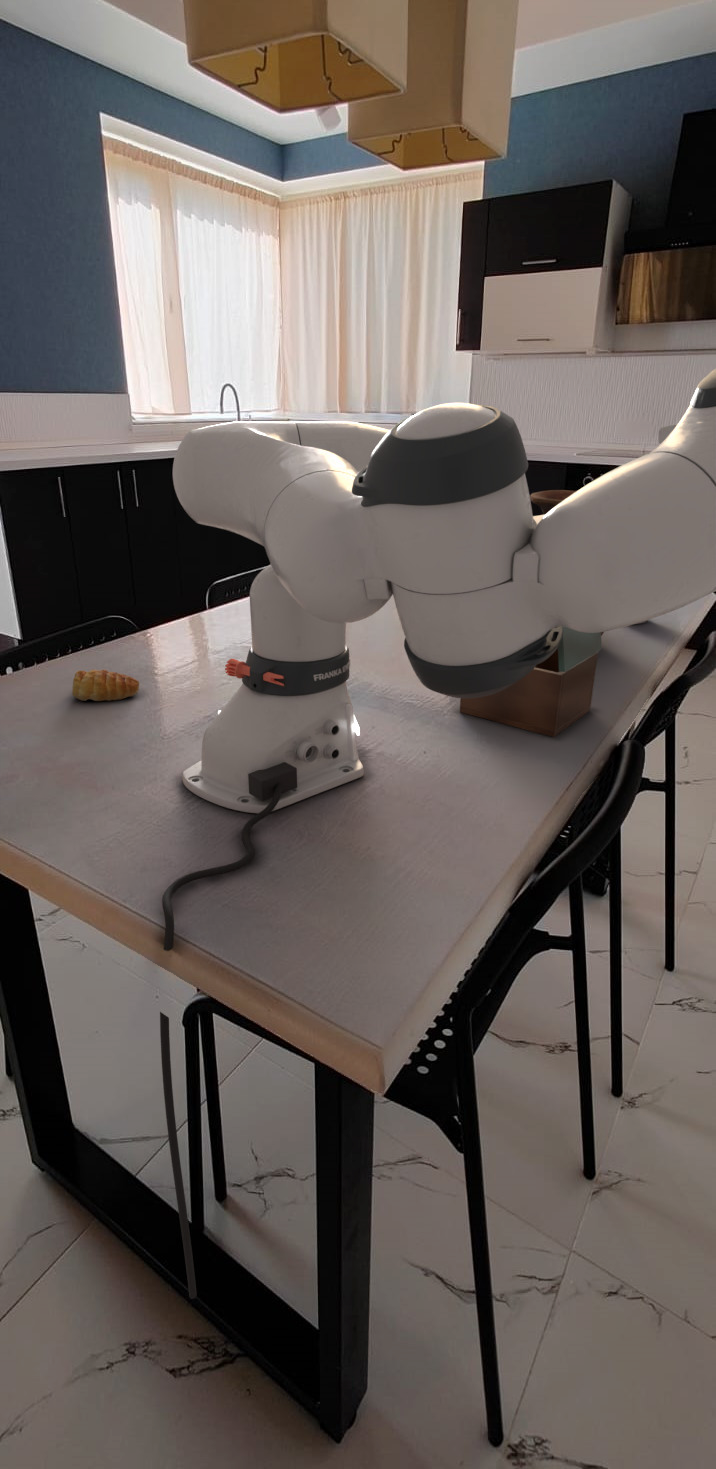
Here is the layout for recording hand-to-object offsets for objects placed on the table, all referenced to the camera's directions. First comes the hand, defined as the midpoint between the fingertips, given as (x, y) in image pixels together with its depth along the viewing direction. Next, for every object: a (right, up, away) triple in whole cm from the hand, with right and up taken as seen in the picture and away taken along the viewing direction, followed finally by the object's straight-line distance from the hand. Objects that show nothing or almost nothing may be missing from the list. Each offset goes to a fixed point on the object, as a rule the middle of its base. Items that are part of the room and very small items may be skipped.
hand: (681, 437), depth 84 cm
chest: (-11, -29, +28) cm, 42 cm away
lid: (-7, -15, +18) cm, 24 cm away
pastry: (-74, -27, +32) cm, 85 cm away
